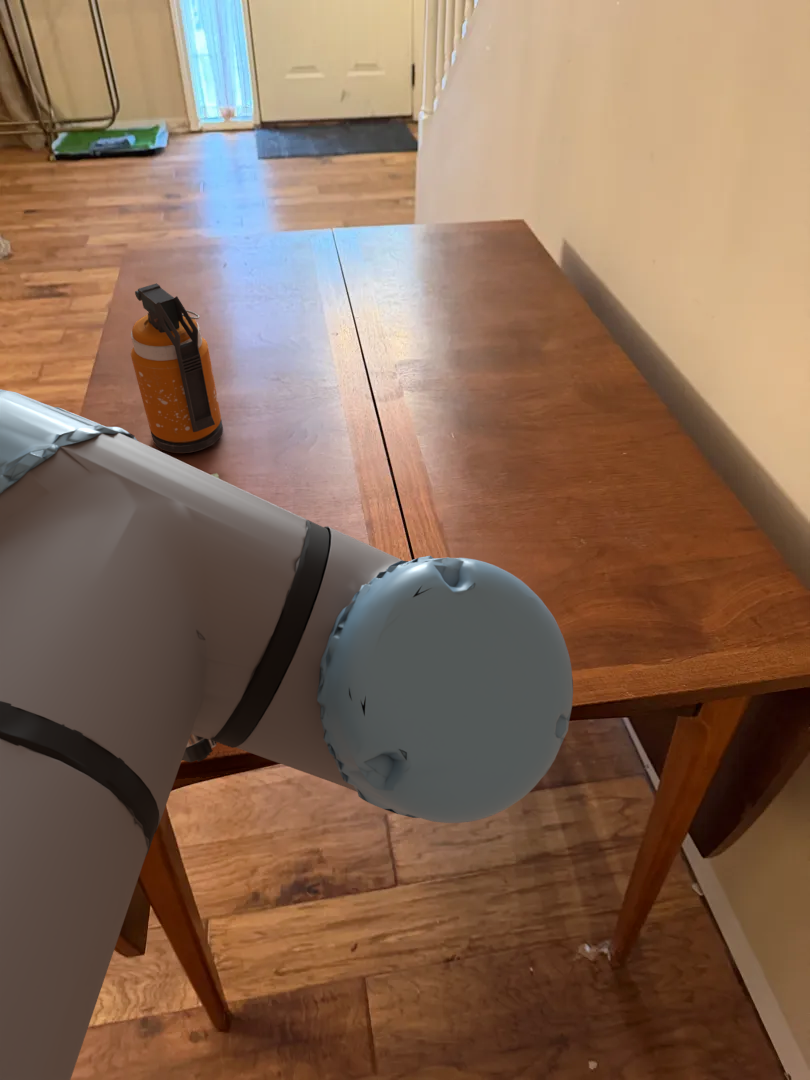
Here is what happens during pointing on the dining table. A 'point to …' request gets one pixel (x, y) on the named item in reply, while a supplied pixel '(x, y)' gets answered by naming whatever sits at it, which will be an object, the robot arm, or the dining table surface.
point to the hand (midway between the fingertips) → (255, 673)
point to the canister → (174, 374)
